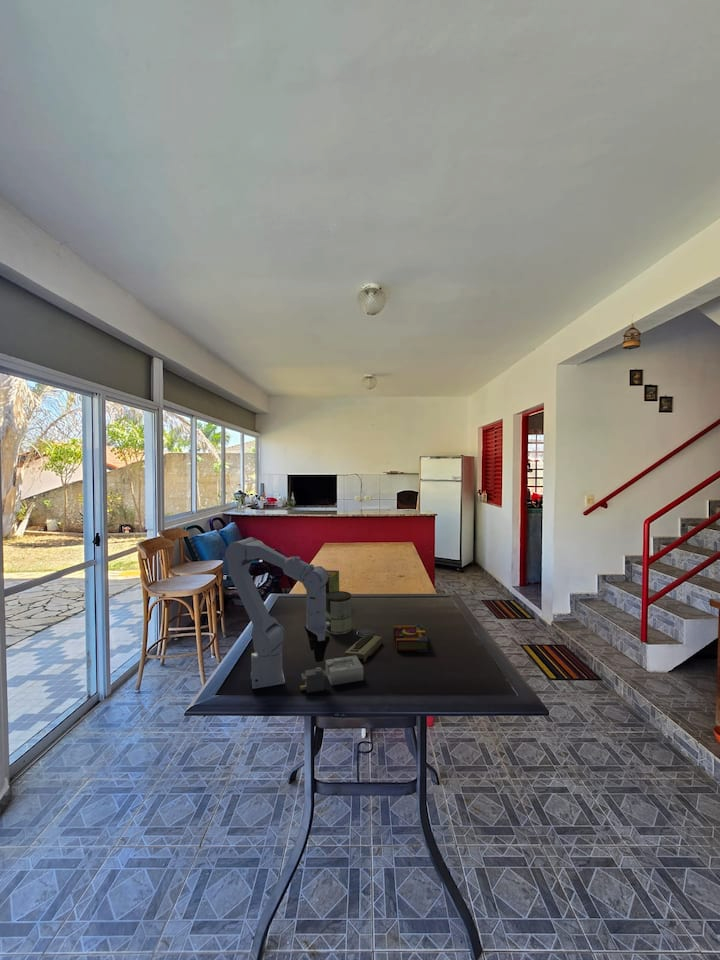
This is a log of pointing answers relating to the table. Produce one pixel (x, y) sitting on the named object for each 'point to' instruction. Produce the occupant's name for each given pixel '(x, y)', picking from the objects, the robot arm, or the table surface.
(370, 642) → the computer
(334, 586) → the protein box
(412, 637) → the decorative book
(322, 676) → the block
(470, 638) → the table surface
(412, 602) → the table surface
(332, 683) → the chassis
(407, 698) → the table surface
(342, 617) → the coffee can
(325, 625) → the robot arm
